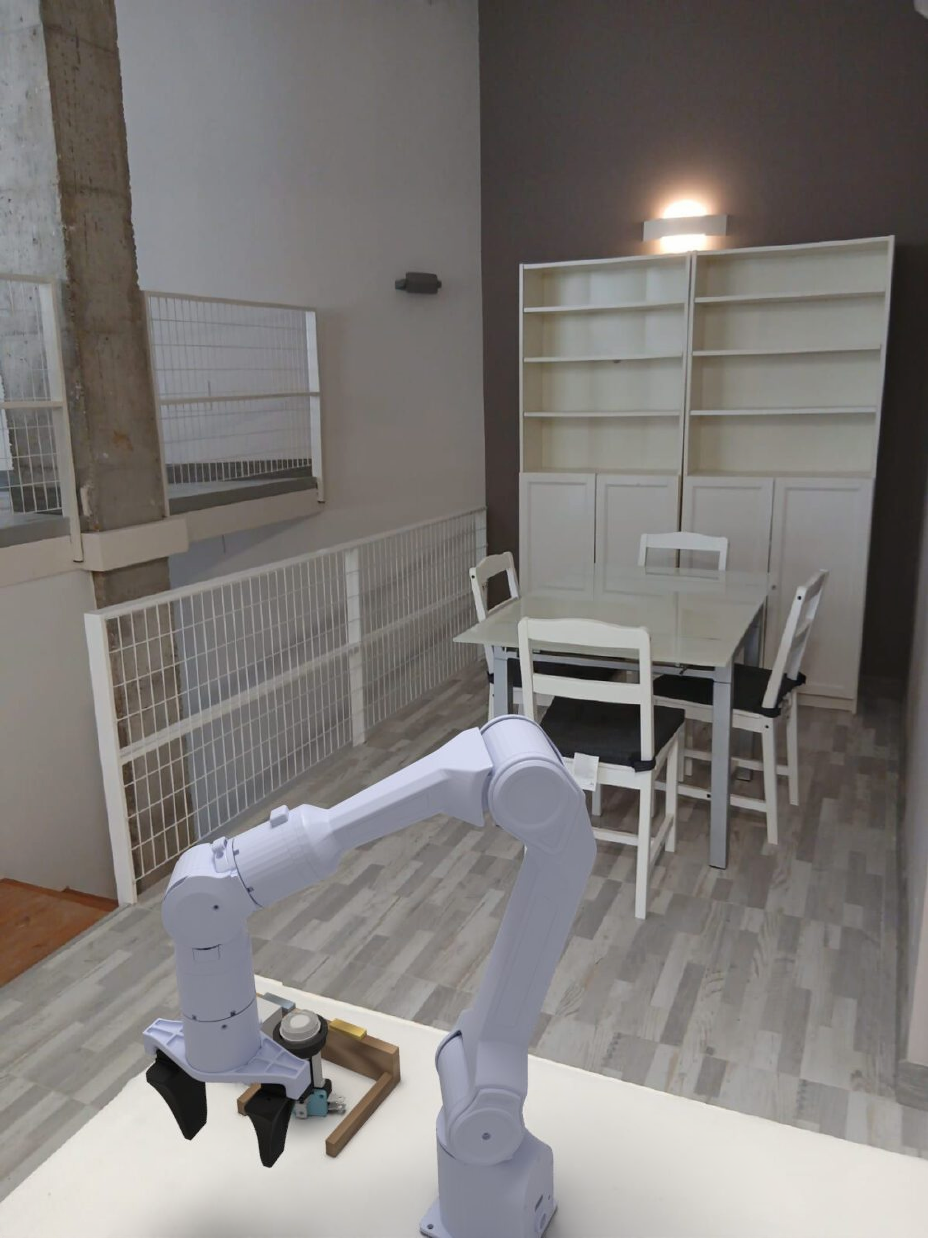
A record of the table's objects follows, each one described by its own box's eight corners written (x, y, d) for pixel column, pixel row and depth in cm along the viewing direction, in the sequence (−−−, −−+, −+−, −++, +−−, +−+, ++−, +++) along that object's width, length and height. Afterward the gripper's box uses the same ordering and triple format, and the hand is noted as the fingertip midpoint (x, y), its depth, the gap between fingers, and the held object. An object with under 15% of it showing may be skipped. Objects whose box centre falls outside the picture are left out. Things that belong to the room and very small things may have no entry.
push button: (353, 1093, 94) (347, 1007, 91) (336, 1133, 89) (329, 1044, 86) (291, 1085, 95) (284, 1001, 93) (271, 1125, 90) (263, 1036, 88)
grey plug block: (285, 1054, 100) (281, 1006, 98) (250, 1087, 95) (245, 1037, 94) (254, 1041, 102) (249, 993, 100) (218, 1073, 97) (213, 1023, 96)
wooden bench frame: (400, 1080, 95) (398, 1042, 94) (334, 1158, 86) (331, 1116, 85) (253, 1021, 105) (250, 985, 104) (179, 1085, 96) (175, 1047, 94)
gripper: (326, 987, 72) (337, 1132, 75) (177, 950, 78) (193, 1086, 81) (275, 1046, 66) (289, 1201, 69) (116, 1000, 71) (136, 1146, 75)
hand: (234, 1144), depth 75 cm, fingers open, 7 cm apart
